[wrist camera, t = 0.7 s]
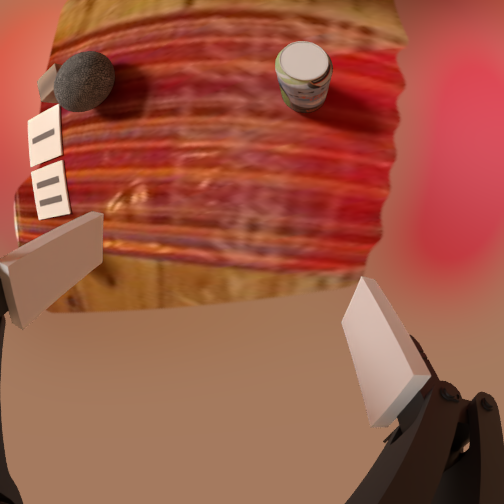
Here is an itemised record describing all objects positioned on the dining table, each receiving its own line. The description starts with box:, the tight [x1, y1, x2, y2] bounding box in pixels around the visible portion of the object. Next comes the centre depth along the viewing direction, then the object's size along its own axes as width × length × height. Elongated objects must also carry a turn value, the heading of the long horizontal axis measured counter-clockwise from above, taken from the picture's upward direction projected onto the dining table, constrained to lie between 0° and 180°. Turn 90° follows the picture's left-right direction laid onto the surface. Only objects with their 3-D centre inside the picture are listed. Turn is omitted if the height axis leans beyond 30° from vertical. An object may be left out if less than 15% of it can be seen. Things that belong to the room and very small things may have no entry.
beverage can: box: [275, 41, 333, 113], centre depth 27 cm, size 6×7×12 cm
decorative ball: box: [54, 51, 115, 112], centre depth 29 cm, size 10×10×10 cm
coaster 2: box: [31, 160, 71, 220], centre depth 41 cm, size 10×10×1 cm
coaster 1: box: [28, 104, 63, 167], centre depth 37 cm, size 10×10×1 cm
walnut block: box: [37, 64, 62, 103], centre depth 31 cm, size 5×5×5 cm
